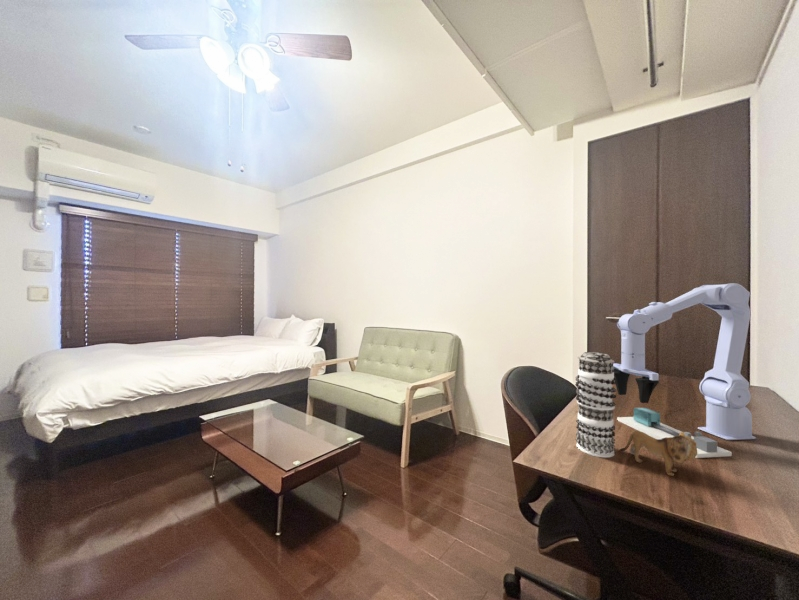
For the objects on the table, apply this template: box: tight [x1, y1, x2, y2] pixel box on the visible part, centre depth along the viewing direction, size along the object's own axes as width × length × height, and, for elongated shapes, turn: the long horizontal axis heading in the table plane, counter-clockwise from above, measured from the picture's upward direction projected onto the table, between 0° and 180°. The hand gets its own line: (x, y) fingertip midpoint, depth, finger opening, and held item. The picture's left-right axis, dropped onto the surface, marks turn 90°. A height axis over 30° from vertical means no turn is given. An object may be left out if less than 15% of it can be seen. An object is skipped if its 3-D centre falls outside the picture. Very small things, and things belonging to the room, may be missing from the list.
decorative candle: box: [574, 351, 617, 458], centre depth 80 cm, size 9×9×25 cm
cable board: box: [616, 415, 733, 459], centre depth 88 cm, size 10×24×4 cm, turn 7°
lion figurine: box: [619, 430, 698, 477], centre depth 72 cm, size 15×5×9 cm, turn 33°
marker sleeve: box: [633, 407, 661, 426], centre depth 95 cm, size 4×5×4 cm
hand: (632, 398), depth 93 cm, fingers open, 7 cm apart
